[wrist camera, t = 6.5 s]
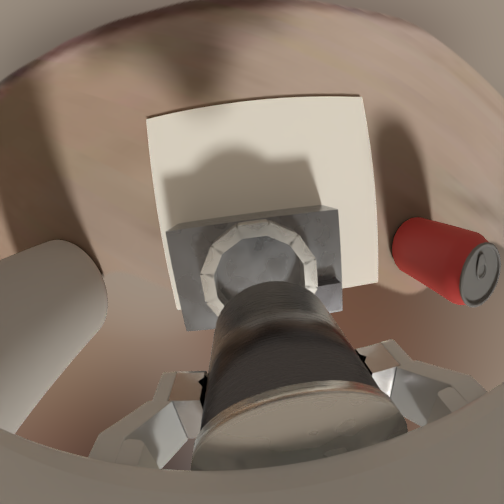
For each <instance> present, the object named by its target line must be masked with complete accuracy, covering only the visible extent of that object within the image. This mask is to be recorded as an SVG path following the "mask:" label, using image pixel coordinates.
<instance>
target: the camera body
mask: <svg viewBox="0 0 504 504" xmlns="http://www.w3.org/2000/svg"><path fill="white" fill-rule="evenodd" d="M166 238H167V243H168V249H169V254H170V259H171V264H172V269H173V274H174V279H175V283H176V288H177V292H178V297H179V301H180V306H181V310H182V314H183V318H184V322H185V326H186V330H187V331H196V330H207V329H215V327H216V322H217V319H218V316H219V314H220V312H221V311H222V309H223V308H224V306H225V305H226V304H227V302H228V301H229V300H230V299H231V298H232V297H234V296H235V295H236V294H237V293H239V292H241V291H242V290H244V289H246V288H248V287H250V286H252V285H255V284H259V283H263V282H269V281H285V282H290V283H294V284H297V285H300V286H302V287H304V288H306V289H308V290H310V291H311V292H313V293H314V294H315V295H316V296H317V297H318V298H319V299H320V300H321V302H322V303H323V304H324V306H325V307H326V309H327V310H328V312H329V313H331V312H337V311H342V267H341V245H340V229H339V215H338V209H335V208H331V207H328V206H324V205H316V206H306V207H297V208H288V209H280V210H272V211H263V212H256V213H248V214H240V215H233V216H226V217H218V218H211V219H204V220H198V221H191V222H185V223H179V224H177V225H176V226H174V227H172V228H171V229H169V230H167V231H166Z"/></svg>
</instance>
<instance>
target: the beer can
mask: <svg viewBox="0 0 504 504" xmlns="http://www.w3.org/2000/svg"><path fill="white" fill-rule="evenodd" d="M392 254H393V258H394V261H395V264H396V265H397V266H398V268H399V269H400V270H401V271H403V272H405V273H406V274H408V275H409V276H411V277H413V278H414V279H416V280H418V281H419V282H421V283H422V284H424V285H426V286H427V287H429V288H430V289H432V290H434V291H435V292H437V293H438V294H440V295H441V296H443V297H444V298H446V299H447V300H449V301H451V302H452V303H455V304H458V305H468V306H469V307H477V306H480V305H482V304H483V303H484V302H485V301H486V300H487V299H488V298H489V297H490V296H491V294H492V293H493V291H494V289H495V287H496V285H497V283H498V279H499V275H500V267H501V262H500V255H499V252H498V250H497V248H496V247H495V245H494V244H492V243H489V242H488V241H487V240H486V239H485V238H484V237H483V236H482V235H481V234H479V233H477V232H473V231H470V230H466V229H463V228H459V227H455V226H452V225H448V224H444V223H440V222H436V221H432V220H428V219H424V218H420V217H415V218H410V219H409V220H407V221H405V222H404V223H403V224H402V225H401V226H400V227H399V228H398V230H397V232H396V234H395V236H394V240H393V245H392Z"/></svg>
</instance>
